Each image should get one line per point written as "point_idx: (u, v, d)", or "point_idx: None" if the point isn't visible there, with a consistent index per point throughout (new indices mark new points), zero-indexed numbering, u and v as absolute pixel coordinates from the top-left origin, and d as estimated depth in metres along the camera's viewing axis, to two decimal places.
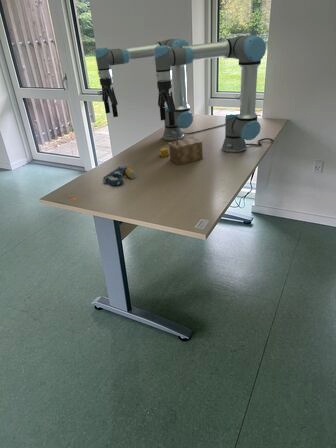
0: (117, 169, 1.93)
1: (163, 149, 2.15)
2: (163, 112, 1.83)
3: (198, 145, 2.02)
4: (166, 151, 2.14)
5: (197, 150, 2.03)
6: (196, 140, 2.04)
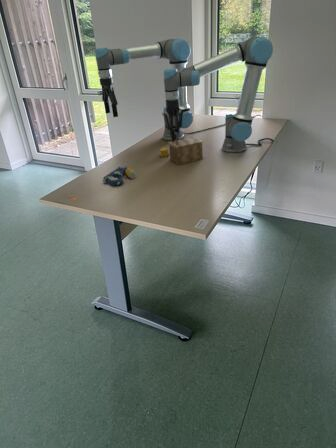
0: (117, 169, 1.93)
1: (163, 149, 2.15)
2: None
3: (198, 145, 2.02)
4: (166, 151, 2.14)
5: (197, 150, 2.03)
6: (196, 140, 2.04)
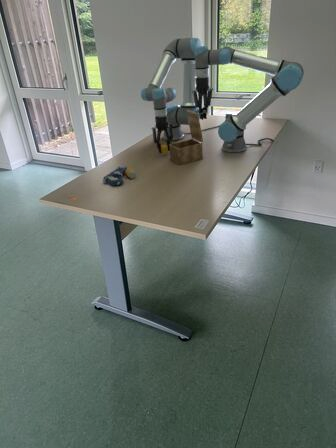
0: (117, 169, 1.93)
1: (163, 146, 2.14)
2: None
3: (198, 145, 2.02)
4: (166, 148, 2.13)
5: (197, 150, 2.03)
6: None
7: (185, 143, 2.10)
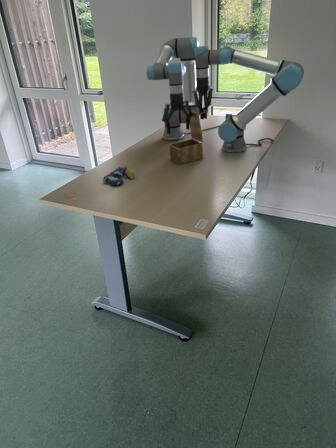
0: (117, 169, 1.93)
1: None
2: None
3: (198, 145, 2.02)
4: None
5: (197, 150, 2.03)
6: None
7: (185, 143, 2.10)
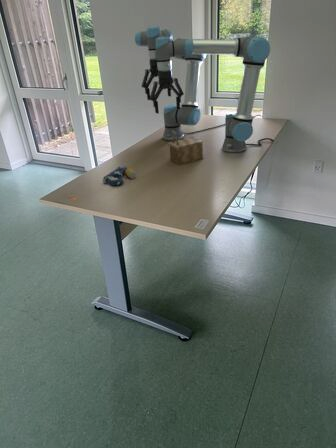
0: (117, 169, 1.93)
1: None
2: None
3: (198, 145, 2.02)
4: None
5: (197, 150, 2.03)
6: (196, 140, 2.04)
7: None
